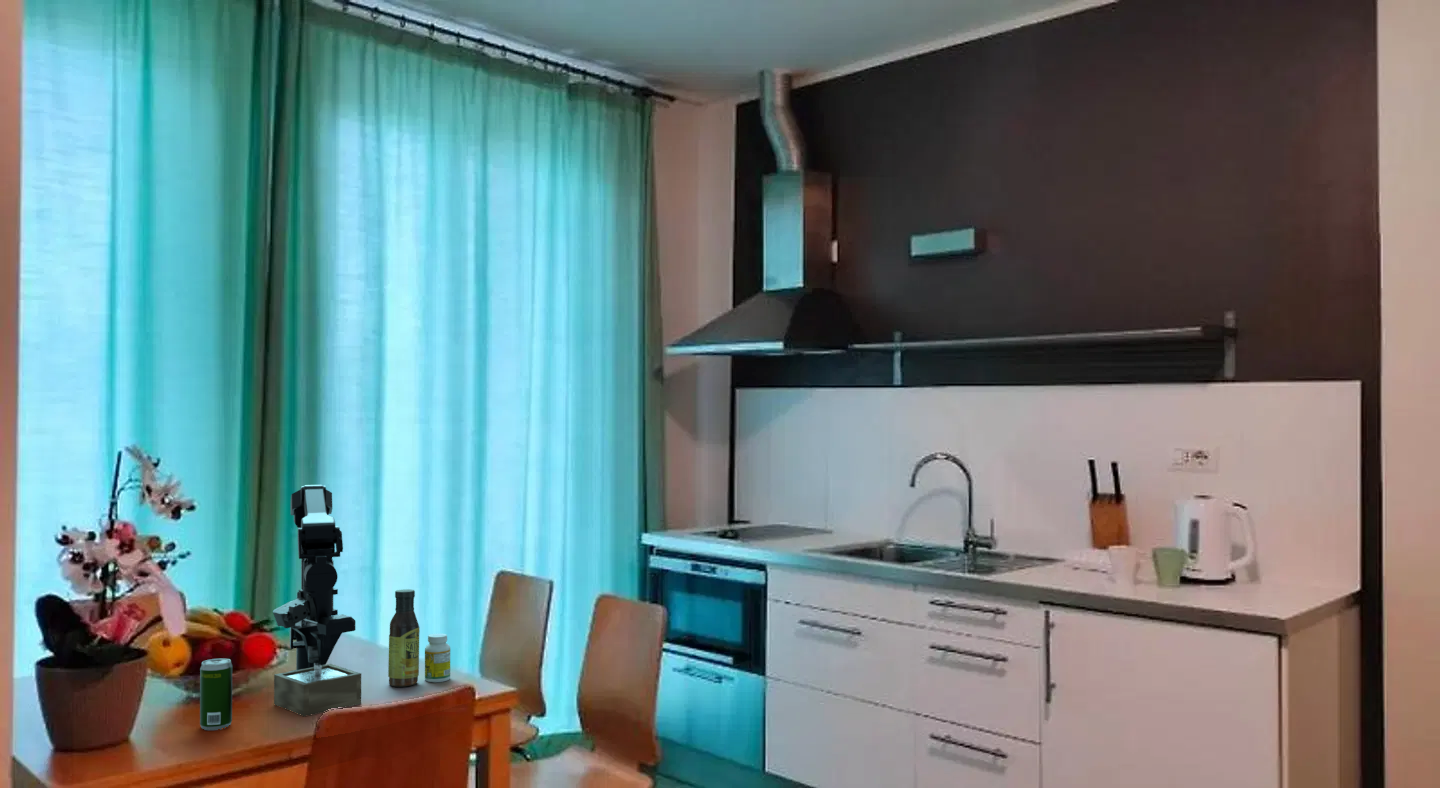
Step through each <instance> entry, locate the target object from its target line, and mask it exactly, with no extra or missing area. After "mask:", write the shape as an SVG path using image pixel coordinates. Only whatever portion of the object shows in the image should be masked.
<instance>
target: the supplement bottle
mask: <svg viewBox="0 0 1440 788" xmlns="http://www.w3.org/2000/svg"><path fill="white" fill-rule="evenodd" d="M447 641H448V634H446V633H431V634H428V636H427V642H428V644H427V645H426V646H425V647H424V680H425V681H426V682H429V683H444V682H447V681H449V680H450V678H451V646H450V644H449V643H447Z"/></svg>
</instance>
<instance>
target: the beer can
mask: <svg viewBox="0 0 1440 788" xmlns="http://www.w3.org/2000/svg"><path fill="white" fill-rule="evenodd" d="M199 671H200V672H199V673H200V674H199V677H200V678H199V688H200V689H199V725H200V727H201V729H202V730H203V729H204V731H219V730H218V729H220V730H223V729H222V728H224V729H226V728H225V727H227V728H229V727H230V726H231V724H232V721H233V664H232V660H231V659H230V658H212V659H207V660H203V661H202V662H201V666H200V668H199ZM229 725H230V726H229ZM228 726H229V727H228Z"/></svg>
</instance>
